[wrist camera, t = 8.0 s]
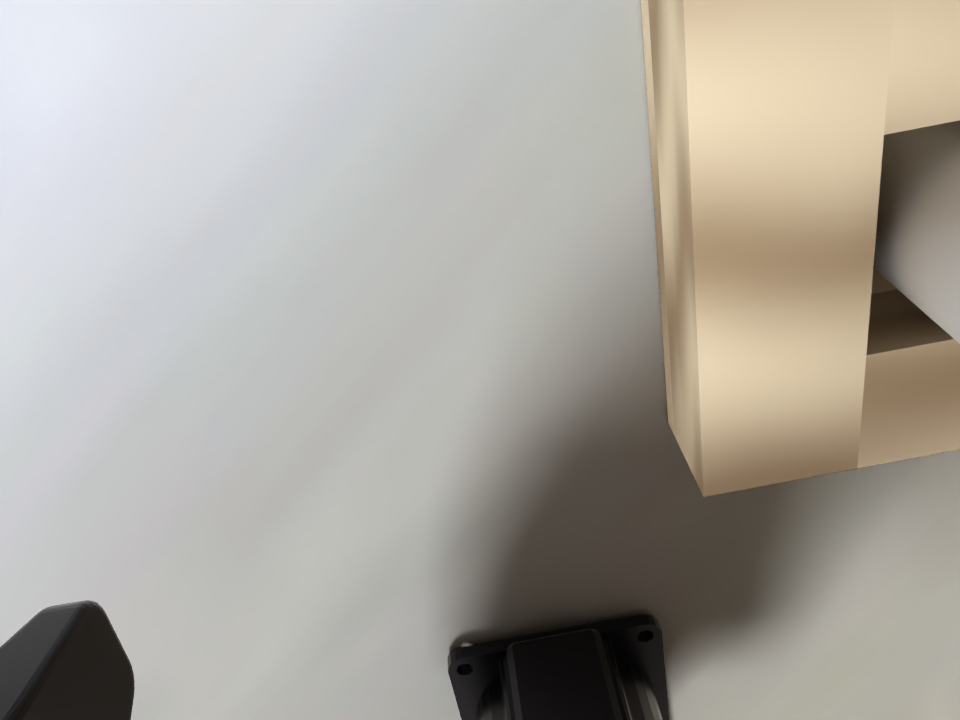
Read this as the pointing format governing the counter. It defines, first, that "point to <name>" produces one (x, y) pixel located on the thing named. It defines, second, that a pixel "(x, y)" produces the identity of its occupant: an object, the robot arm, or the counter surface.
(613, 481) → the counter surface
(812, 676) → the counter surface
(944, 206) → the grey plug
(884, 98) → the wooden socket board
